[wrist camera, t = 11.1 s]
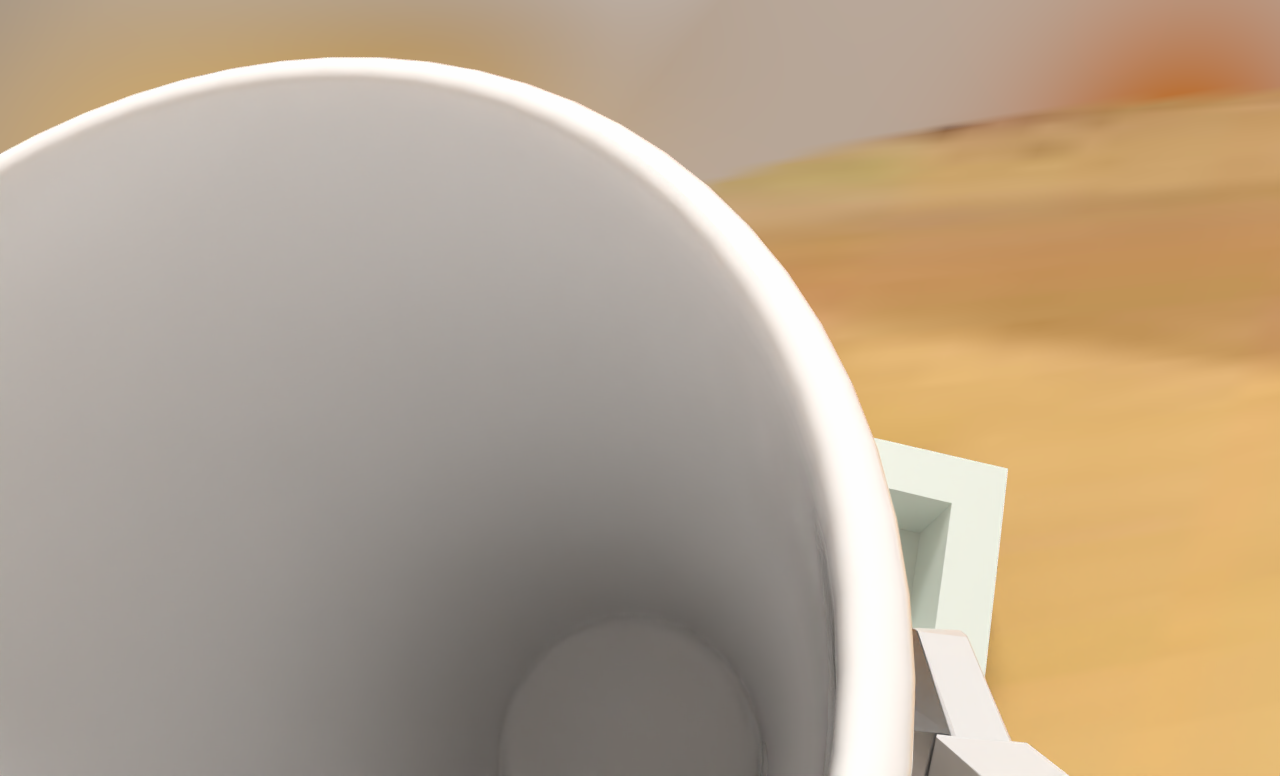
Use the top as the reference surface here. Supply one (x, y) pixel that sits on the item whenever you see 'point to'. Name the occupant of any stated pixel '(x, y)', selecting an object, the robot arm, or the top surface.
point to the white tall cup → (422, 450)
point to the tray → (947, 537)
